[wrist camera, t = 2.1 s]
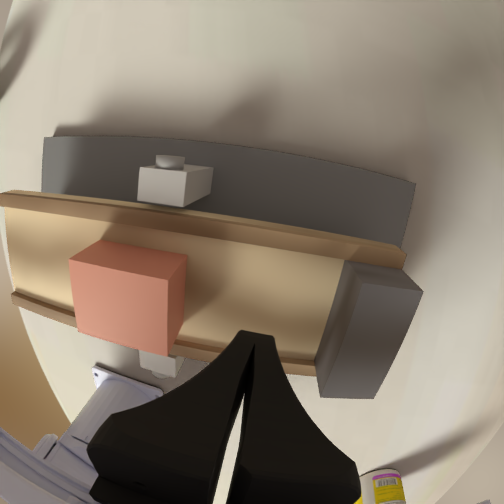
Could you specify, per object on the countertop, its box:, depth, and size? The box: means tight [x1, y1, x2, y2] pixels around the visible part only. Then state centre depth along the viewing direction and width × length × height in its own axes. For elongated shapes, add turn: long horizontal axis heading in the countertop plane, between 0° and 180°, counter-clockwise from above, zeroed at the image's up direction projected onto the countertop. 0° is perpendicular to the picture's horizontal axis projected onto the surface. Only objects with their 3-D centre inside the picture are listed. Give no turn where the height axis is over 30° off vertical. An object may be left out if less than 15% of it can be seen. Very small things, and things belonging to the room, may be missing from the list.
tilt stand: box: [42, 136, 416, 379], centre depth 17 cm, size 15×27×6 cm, turn 82°
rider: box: [68, 240, 187, 357], centre depth 13 cm, size 4×5×3 cm
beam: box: [0, 190, 423, 399], centre depth 14 cm, size 8×24×4 cm, turn 82°
